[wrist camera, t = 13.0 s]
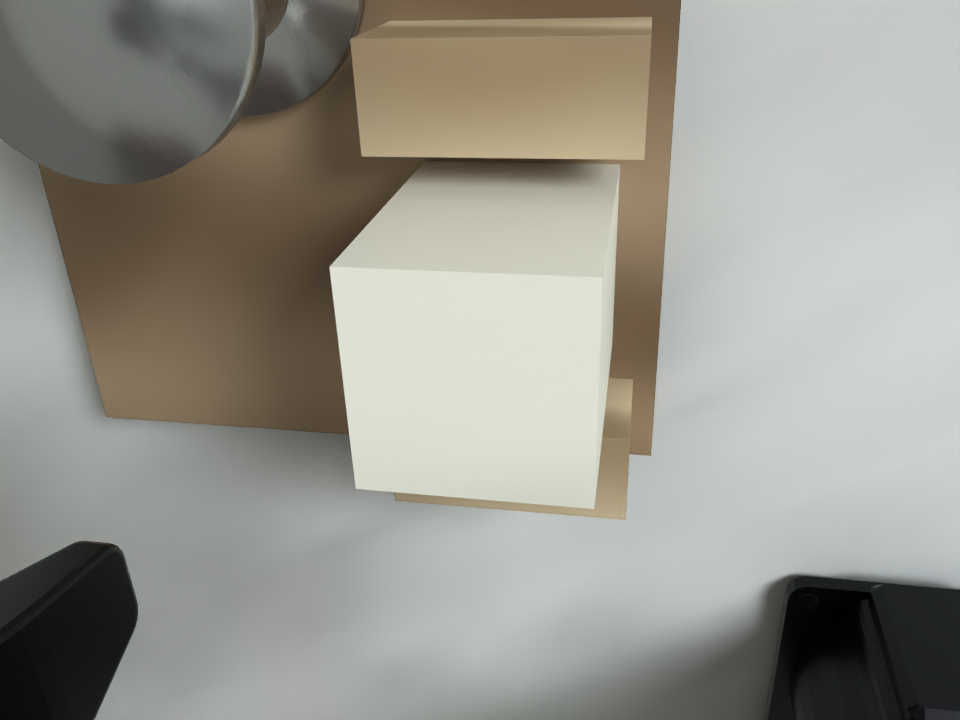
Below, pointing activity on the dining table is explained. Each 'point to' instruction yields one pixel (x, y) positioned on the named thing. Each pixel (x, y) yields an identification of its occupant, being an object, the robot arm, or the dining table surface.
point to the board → (311, 248)
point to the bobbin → (156, 76)
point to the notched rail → (513, 134)
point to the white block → (482, 332)
